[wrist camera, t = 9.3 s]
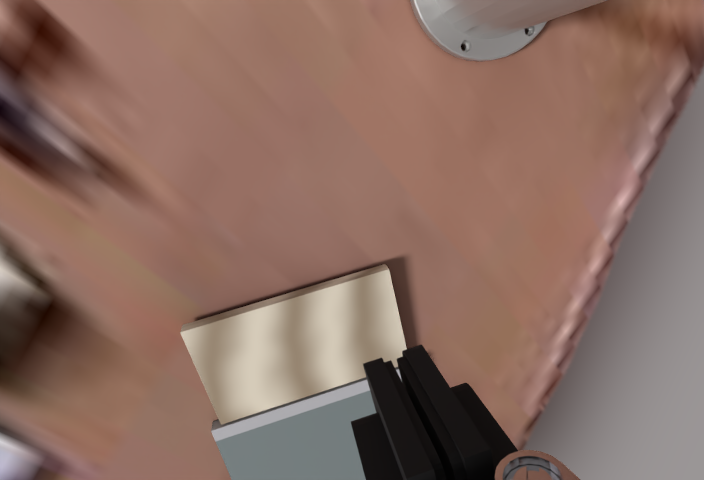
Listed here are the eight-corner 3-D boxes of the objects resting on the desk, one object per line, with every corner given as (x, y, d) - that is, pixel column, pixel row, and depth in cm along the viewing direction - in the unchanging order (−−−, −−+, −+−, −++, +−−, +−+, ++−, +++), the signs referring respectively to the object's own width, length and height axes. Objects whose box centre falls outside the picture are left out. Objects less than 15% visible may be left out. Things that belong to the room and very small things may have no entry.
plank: (385, 263, 39) (388, 269, 38) (405, 355, 43) (409, 362, 42) (182, 325, 37) (180, 332, 36) (222, 415, 41) (221, 424, 40)
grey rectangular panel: (415, 355, 43) (420, 362, 42) (436, 443, 46) (441, 452, 45) (212, 421, 41) (211, 430, 40) (249, 509, 44) (248, 520, 43)
